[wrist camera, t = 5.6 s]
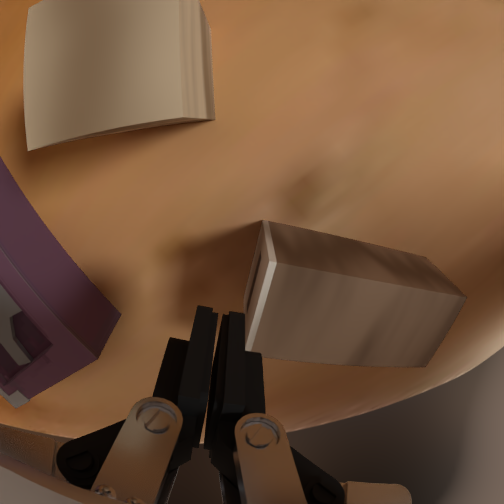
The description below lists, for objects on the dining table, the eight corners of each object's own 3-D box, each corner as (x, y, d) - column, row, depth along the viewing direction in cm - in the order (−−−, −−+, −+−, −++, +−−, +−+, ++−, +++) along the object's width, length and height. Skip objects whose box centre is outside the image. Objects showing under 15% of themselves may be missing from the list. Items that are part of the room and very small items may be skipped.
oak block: (210, 29, 12) (179, -45, 5) (215, 119, 14) (183, 117, 7) (118, 46, 12) (28, 7, 5) (122, 132, 14) (27, 151, 7)
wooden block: (262, 219, 16) (425, 257, 17) (243, 297, 18) (396, 319, 19) (269, 260, 12) (467, 297, 13) (243, 354, 14) (425, 367, 15)
